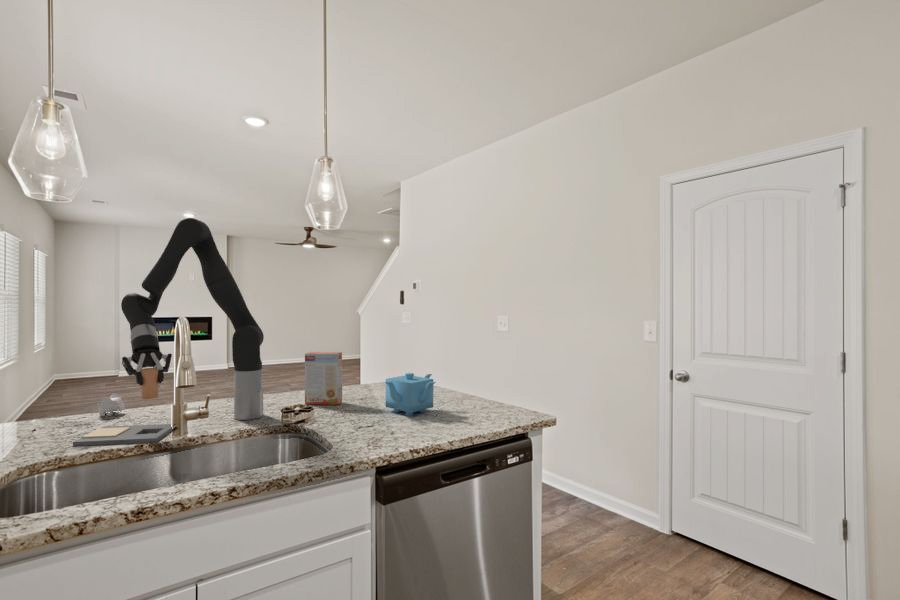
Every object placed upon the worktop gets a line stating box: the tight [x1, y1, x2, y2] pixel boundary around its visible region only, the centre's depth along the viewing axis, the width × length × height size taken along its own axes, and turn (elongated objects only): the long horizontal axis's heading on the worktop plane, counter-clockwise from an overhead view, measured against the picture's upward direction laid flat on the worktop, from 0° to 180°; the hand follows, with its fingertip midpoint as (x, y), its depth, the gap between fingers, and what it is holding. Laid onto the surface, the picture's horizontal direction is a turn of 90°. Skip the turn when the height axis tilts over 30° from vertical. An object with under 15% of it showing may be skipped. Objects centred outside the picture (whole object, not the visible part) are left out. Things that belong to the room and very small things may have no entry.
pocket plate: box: [72, 423, 172, 447], centre depth 145 cm, size 22×16×2 cm
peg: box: [140, 367, 160, 400], centre depth 146 cm, size 4×4×9 cm
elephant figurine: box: [96, 393, 129, 417], centre depth 171 cm, size 8×10×7 cm
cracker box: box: [304, 351, 343, 406], centre depth 190 cm, size 14×6×21 cm, turn 84°
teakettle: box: [384, 372, 437, 417], centre depth 177 cm, size 19×19×15 cm
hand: (150, 382), depth 145 cm, fingers closed on peg, 4 cm apart
